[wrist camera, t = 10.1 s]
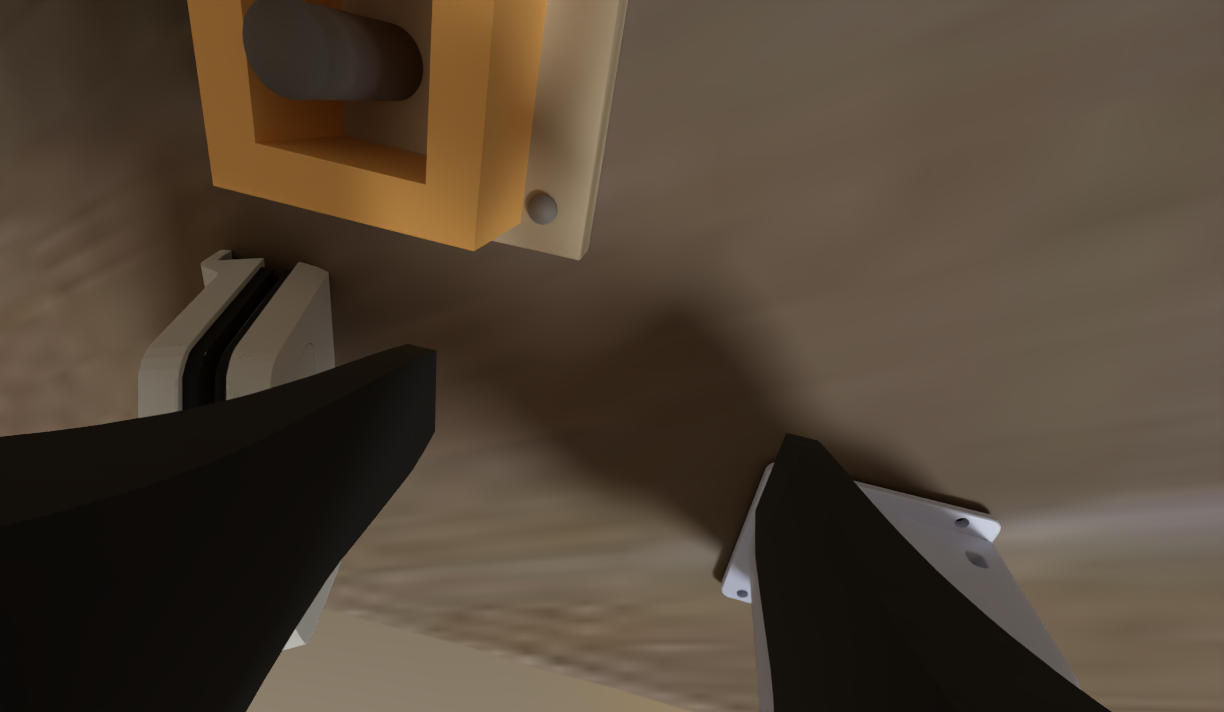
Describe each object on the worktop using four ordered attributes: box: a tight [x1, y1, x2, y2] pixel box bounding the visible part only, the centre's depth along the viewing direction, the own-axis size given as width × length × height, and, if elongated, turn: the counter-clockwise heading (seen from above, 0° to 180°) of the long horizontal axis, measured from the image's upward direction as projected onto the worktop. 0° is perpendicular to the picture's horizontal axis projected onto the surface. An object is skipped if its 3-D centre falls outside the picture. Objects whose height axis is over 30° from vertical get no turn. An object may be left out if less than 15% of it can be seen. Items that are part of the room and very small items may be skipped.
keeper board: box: [242, 0, 628, 260], centre depth 16 cm, size 14×10×6 cm
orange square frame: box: [187, 0, 547, 251], centre depth 15 cm, size 8×8×4 cm
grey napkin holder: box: [138, 250, 342, 650], centre depth 23 cm, size 17×5×10 cm, turn 170°
